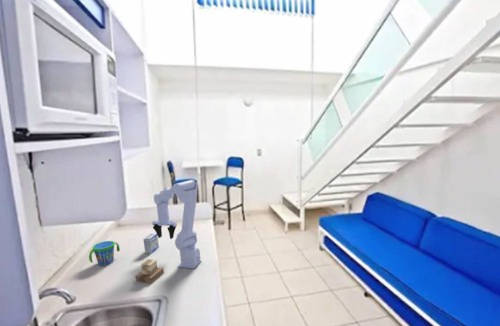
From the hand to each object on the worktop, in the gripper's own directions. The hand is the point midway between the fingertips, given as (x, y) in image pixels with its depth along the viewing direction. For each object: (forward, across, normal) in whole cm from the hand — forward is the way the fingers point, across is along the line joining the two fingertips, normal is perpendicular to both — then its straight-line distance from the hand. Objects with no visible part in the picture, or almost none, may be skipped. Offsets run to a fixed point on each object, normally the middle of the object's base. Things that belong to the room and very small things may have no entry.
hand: (165, 237), depth 160 cm
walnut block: (+10, +6, -23) cm, 26 cm away
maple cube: (+7, +6, -23) cm, 25 cm away
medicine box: (+10, -12, +2) cm, 16 cm away
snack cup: (+10, -28, -16) cm, 34 cm away
